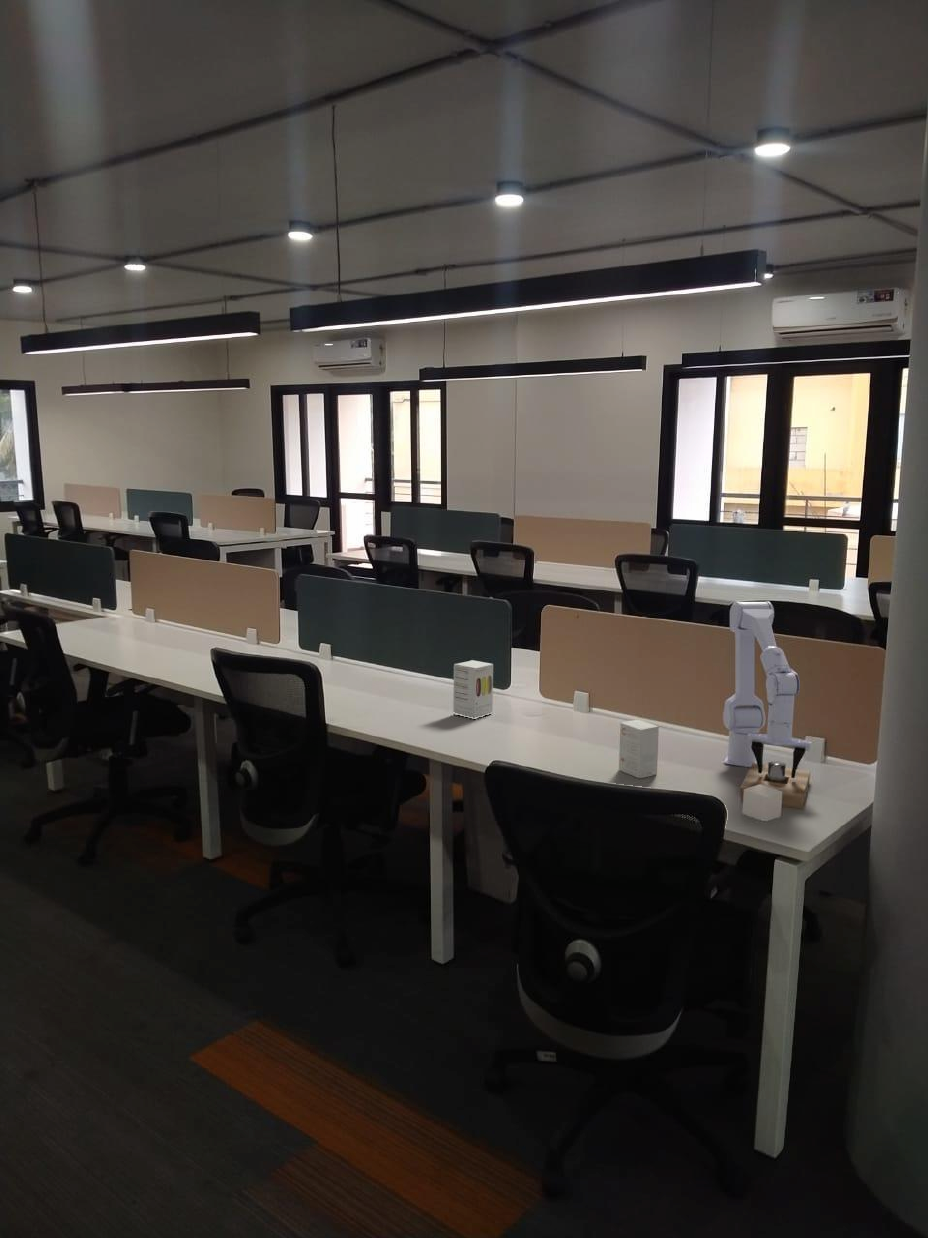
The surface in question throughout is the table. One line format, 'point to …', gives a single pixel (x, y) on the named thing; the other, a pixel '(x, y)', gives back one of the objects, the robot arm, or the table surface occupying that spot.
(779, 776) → the steel pin
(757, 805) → the white cube
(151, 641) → the table surface
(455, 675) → the supplement box
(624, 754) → the small box
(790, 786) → the wooden socket block
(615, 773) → the table surface
